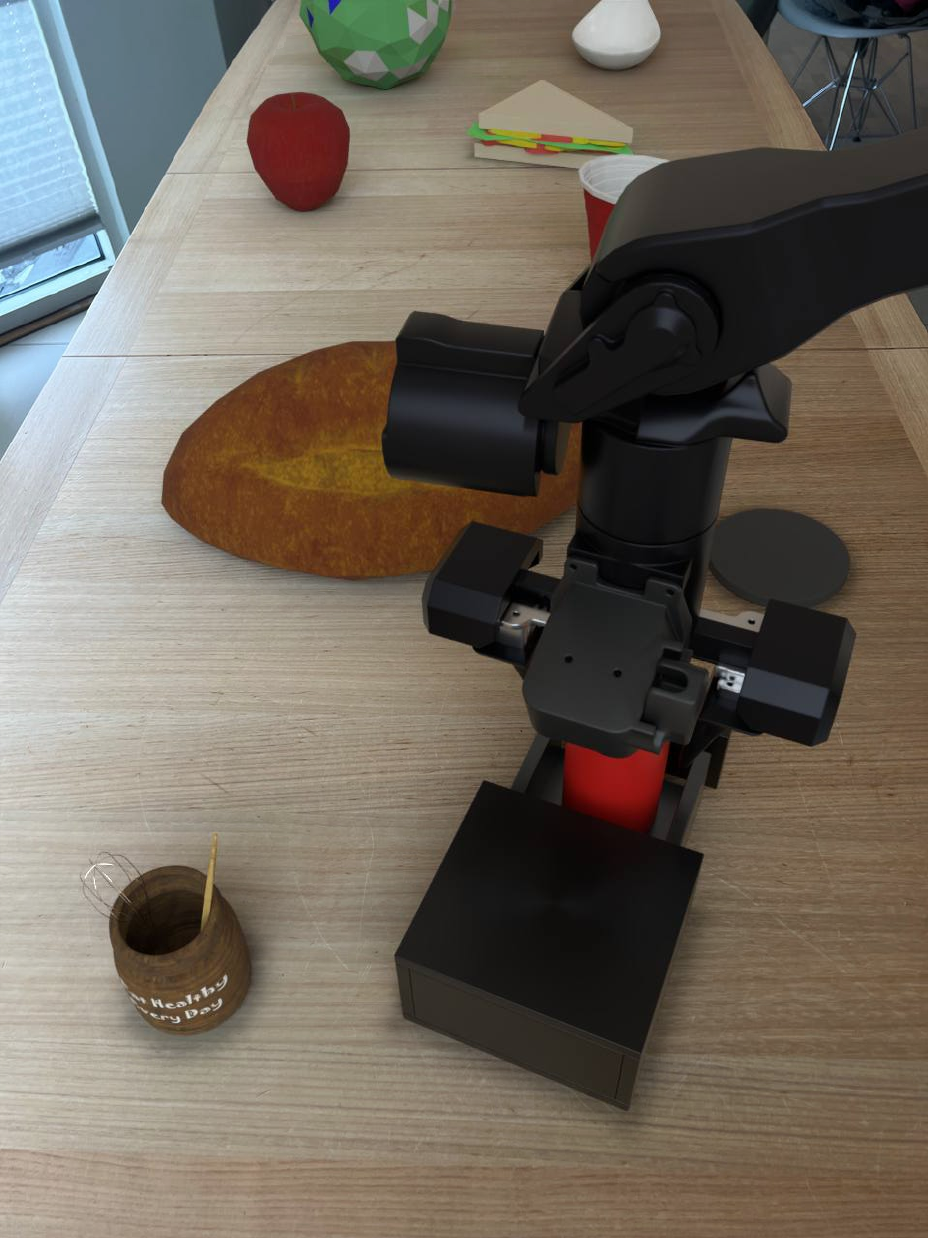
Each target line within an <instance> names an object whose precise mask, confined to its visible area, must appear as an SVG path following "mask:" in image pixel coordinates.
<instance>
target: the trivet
mask: <svg viewBox="0 0 928 1238" xmlns="http://www.w3.org/2000/svg"><path fill="white" fill-rule="evenodd" d="M708 568H709V570H710V571H711V574H712V575H713V577H714V578H715V579H716V581H718V582H719V583H720V584H721V586H723V587H724V588H725V589H727V590H728V591H729V592H731V593H732V594H734V595H735V596H737V597H739V598H741V599H743V600H745V601H748V602H750V603H753V604H756V605H760V606H763V607H767V605H768V602H769V599H770V598H772V599H776V600H780V601H784V602H787V603H791V604H795V605H799V606H803V607H807V608H810V607H814V606H817V605H820V604H822V603H824V602H826V601H828V600H830V599H833V597H834V596H836V595H837V594H838V593H839V592H840V591H841V590H842V589H843V587H844V585H845V583H846V581H847V579H848V575H849V572H850V568H851V557H850V554H849V551H848V549H847V547H846V545H845V543H844V542H843V540H842V539H841V538H840V536H838V534H836V533H835V531H833V530H832V529H831V528H829V526H827V525H825V524H824V523H822V522H821V521H818V520H817V519H815V518H812V517H810V516H807V515H805V514H803V513H798V512H796V511H792V510H787V509H786V510H785V509H779V508H755V509H754V508H753V509H749V510H744V511H739V512H737V513H735V514H732V515H730V516H728V517H726V518H725V519H723V520H722V521H720V522H719V523H717V525H716V530H715V535H714V541H713V546H712V551H711V557H710V562H709V567H708Z"/></svg>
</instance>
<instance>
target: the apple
mask: <svg viewBox="0 0 928 1238" xmlns="http://www.w3.org/2000/svg"><path fill="white" fill-rule="evenodd" d="M247 127H248V128H247V136H246V145H247V147H248V152H249V154H250V158H251V161H252V164H253V167H254V170H255V172H256V173H257V174H258V176H259V178H260V179H261V180H262V181H263V184H264V185H265V186H266V187H267V189H268V190H269V192H270V193H271V194H272V196H273V197H274V198H275V200H276V201H277V202H279V203H282V204H283V205H285V206H287V207H289V208H290V209H292V210H294V211H295V212H303V213H304V212H311V211H313V210H316V209H318V208H320V207H322V206H323V205H325V204H326V203H327V202H329V201H330V200H331V199H333V198H334V197H335V196H336V195H337V193H339V190H340V188H341V186H342V183H343V180H344V176H345V173H346V171H347V168H348V165H349V155H350V154H349V153H350V143H351V129H350V126H349V124H348V121H347V119H346V116H345V114H344V111H343V110H342V109H341V108H340V107H338V106H337V105H336V104H335V103H333V102H331V101H330V100H328V99H327V98H326V97H325V96H321V95H319V94H316V93H312V92H305V91H292V92H284V93H278V94H275V95H272V96H270V97H267V98H265V99H264V100H263V101H262V102H261V103H260V104H259V105H258V107H256V109H255V110H254V111H253V112H252V114H250V117H249V121H248V126H247Z"/></svg>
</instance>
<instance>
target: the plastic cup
mask: <svg viewBox="0 0 928 1238" xmlns="http://www.w3.org/2000/svg"><path fill="white" fill-rule="evenodd" d="M669 161H670V160H669V159H665V158H660V157H655V156H651V155H647V154H634V155H631V154H617V155H608V156H600V157H598V158H595V159H593V160H590V161H587V162H585V163H584V165H583V166H582V167H581V168H580V169H577V171H578V177H579V182H580V186H581V187H582V189H583V197H584V208H585V211H586V219H587V231H588V233H587V234H588V241H589V242H588V244H589V256H590V263H591V262H592V261H593V259H594V256H595V253H596V250H597V248H598V245H599V242H600V240H601V237H602V234H603V231H604V229H605V226H606V223H607V221H608V218H609V216H610V214H611V212H612V210H613V208H614V206H615V204H616V202H617V200H618V198H619V197H620V195H621V194H622V193H623V191H624V189H625V187H626V186H627V185H628V184H629V183H630V182H632V181H633V180H634V179H635V178H636V177H637V176H638V175H640V174H642V173H644V172H646V171H648V170H650V169H652V168H654V167H656V166H657V165H659V164H661V163H665V162H669Z"/></svg>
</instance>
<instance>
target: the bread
mask: <svg viewBox="0 0 928 1238" xmlns="http://www.w3.org/2000/svg"><path fill="white" fill-rule="evenodd" d="M396 364H397V355H396V342H395V340H350V341H346V342H343V343H338V344H335V345H330V346H325V347H322V348H317V349H314V350H311V351H307V352H306V353H303V354H300V355H298V356H296V357H293V358H291V359H288V360H286V361H284V362H281V363H278V364H276V365H274V366H273V365H272V366H271V367H269V368H266V369H263V370H261V371H258V372H257V373H255V374H254V375H252V376H250V377H249V378H247V379H246V380H245V381H243V382H242V383H240V384H239V385H237V386H236V387H234V388H233V389H231V390H230V391H228V392H227V393H225V394H224V395H222V396H221V397H219V398H218V399H216V400H215V401H214V402H213V403H212V404H211V405H210V406H209V407H208V408H206V410H205V411H203V412H202V413H201V414H200V415H199V416H198V417H197V418H196V419H195V420H194V421H193V422H192V423H191V424H189V426H187V428H186V429H184V430H183V431H182V432H181V434H180V436H179V438H178V440H177V443H175V444H176V445H175V447H174V448H173V450H172V453H171V455H170V457H169V459H168V462H167V464H166V466H165V467H164V471H163V477H162V488H161V489H162V490H161V500H160V503H161V506H162V507H163V508H164V510H165V511H166V513H167V515H168V516H169V517H170V519H171V520H173V521H174V522H175V523H176V524H178V525H179V526H180V527H181V528H183V530H185V531H186V532H188V533H190V535H192V536H193V537H195V538H196V539H198V540H200V542H203V543H205V544H208V545H209V546H212V547H214V548H216V549H219V550H221V551H223V552H225V553H228V554H230V555H232V556H234V557H237V558H239V559H242V560H246V561H248V562H249V561H250V562H253V563H257V564H260V565H265V566H269V567H272V568H277V569H281V570H287V571H291V572H292V571H293V572H297V573H304V574H309V575H314V576H320V577H326V578H330V579H331V578H332V579H339V580H346V581H361V580H363V581H364V580H371V579H381V578H389V577H390V578H391V577H396V576H405V575H411V574H418V573H424V572H432V571H433V570H434V568H435V567H436V565H437V564H438V562H439V561H440V559H441V558H442V556H443V555H444V553H445V552H446V550H447V549H448V547H449V545H450V544H451V542H452V541H453V539H454V538H455V536H456V535H457V533H458V532H459V530H460V529H462V528H463V527H464V526H466V525H467V524H468V523H470V522H471V521H475V522H479V523H483V524H487V525H491V526H495V527H498V528H502V529H506V530H510V531H514V532H518V533H522V534H525V535H530V534H532V533H533V532H534V531H536V530H538V529H539V528H541V527H543V526H544V525H546V524H548V523H549V522H550V521H552V520H553V519H556V518H557V517H559V516H560V515H562V514H564V513H565V512H567V510H569V509H570V508H572V507H573V506H574V505H576V504H577V494H578V479H579V463H580V448H581V432H582V422H580V423H571V429H570V435H569V441H568V447H567V452H566V456H565V460H564V464H563V467H562V470H561V473H560V474H559V476H553V475H546V474H544V472H543V471H541V482H540V488H539V493H538V496H537V497H532V496H528V497H521V496H514V495H507V494H500V493H493V492H486V491H479V490H472V489H465V488H458V487H451V486H444V485H437V484H430V483H423V482H416V481H409V480H402V479H396V478H391V476H390V475H389V474H388V472H387V470H386V467H385V464H384V459H383V453H382V441H381V438H382V432H383V429H384V427H385V425H386V423H387V412H388V402H389V395H390V389H391V383H392V379H393V375H394V371H395V367H396Z"/></svg>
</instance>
